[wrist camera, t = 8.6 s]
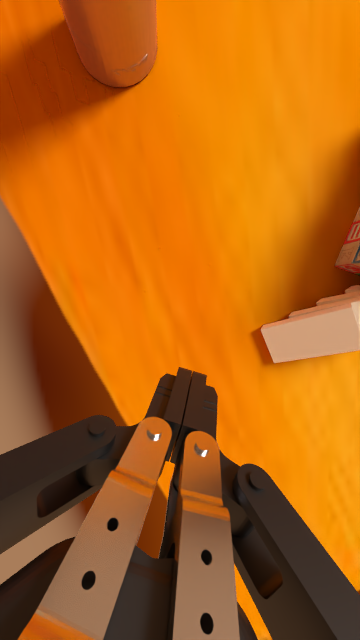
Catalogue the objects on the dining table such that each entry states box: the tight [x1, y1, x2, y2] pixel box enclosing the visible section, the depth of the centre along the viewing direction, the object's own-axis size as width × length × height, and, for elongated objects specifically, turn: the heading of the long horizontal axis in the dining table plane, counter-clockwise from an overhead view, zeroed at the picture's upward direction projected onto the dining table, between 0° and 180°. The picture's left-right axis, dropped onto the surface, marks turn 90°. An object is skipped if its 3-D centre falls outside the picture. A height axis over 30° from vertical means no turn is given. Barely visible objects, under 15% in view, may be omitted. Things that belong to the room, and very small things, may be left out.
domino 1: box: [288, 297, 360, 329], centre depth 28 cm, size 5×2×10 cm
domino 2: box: [260, 303, 360, 363], centre depth 29 cm, size 5×2×10 cm
